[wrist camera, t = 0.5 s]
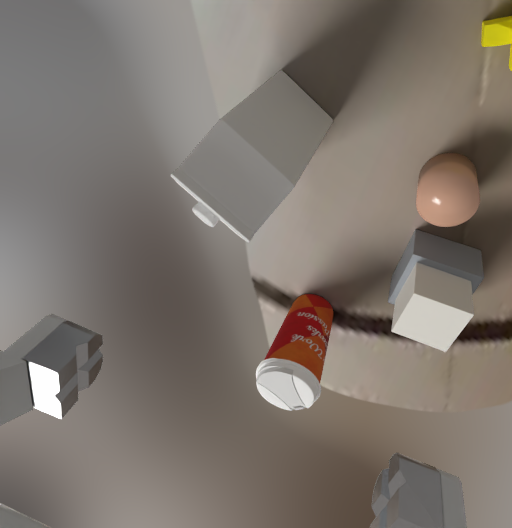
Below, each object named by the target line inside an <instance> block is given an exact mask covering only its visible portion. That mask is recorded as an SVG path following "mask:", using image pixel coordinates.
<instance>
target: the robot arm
mask: <svg viewBox="0 0 512 528" xmlns="http://www.w3.org/2000/svg"><path fill="white" fill-rule="evenodd" d="M102 344H103V337H102V335H101V334H98V333H96V332H93V331H91V330H89V329H87V328H85V327H82V326H80V325H78V324H75V323H73V322H71V321H68V320H66V319H64V318H61V317H59V316H56V315H54V314H51V315H48V316H46V317H45V318H43V319H42V320H41V321H40V322H39V323H37V324H36V325H35V326H34V327H33V328H31V329H30V330H29V331H28V332H26V333H25V334H24V335H23V336H22V337H20V338H19V339H18V340H17V341H16V342H14V343H13V344H12V345H11V346H10V347H8V348H7V349H6V350H5V351H1V350H0V426H1V425H3V424H5V423H7V422H9V421H11V420H12V419H15V418H17V417H19V416H21V415H23V414H25V413H27V412H29V411H31V410H33V408H36V409H38V410H41V411H43V412H45V413H48V414H50V415H53V416H55V417H58V418H60V419H62V418H63V417H64V416H65V415H66V413H67V412H68V411H69V410H70V409H71V408H72V406H73V405H74V404H75V403H76V402H77V401H78V391H81V390H83V389H86V388H88V387H89V386H90V385H91V384H92V383H93V382H94V380H95V379H96V377H97V375H98V373H99V372H100V370H101V366H102V362H103V355H102V353H101V352H100V350H99V348H100V347H101V346H102ZM372 509H373V511H374V513H375V515H376V518H375V520H374V521H373V522H372V524H371V525H370V528H467V525H466V516H465V508H464V500H463V491H462V483H461V481H460V479H459V477H457V476H454V475H452V474H449V473H447V472H444V471H442V470H439V469H436V468H435V467H433V466H430V465H428V464H425V463H422V462H420V461H417V460H415V459H412V458H410V457H407V456H404V455H402V454H399V453H395V454H393V456H392V457H391V459H390V460H389V468H388V469H384V470H382V472H381V473H380V475H379V477H378V479H377V481H376V484H375V487H374V492H373V497H372ZM0 528H51V527H49V526H47V525H45V524H43V523H41V522H39V521H37V520H34V519H32V518H30V517H28V516H26V515H24V514H22V513H19V512H18V511H16V510H14V509H12V508H9V507H7V506H5V505H3V504H1V503H0Z"/></svg>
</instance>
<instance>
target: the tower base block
mask: <svg viewBox="0 0 512 528" xmlns="http://www.w3.org/2000/svg"><path fill="white" fill-rule="evenodd" d="M416 262H418V263H421V264H423V265H426V266H429V267H432V268H435V269H438V270H441V271H443V272H446V273H449V274H452V275H455V276H458V277H461V278H464V279H466V280H469V281H471V285H472V294H473V293H474V292H475V290H476V289H477V287H478V286H479V284H480V283H481V282H482V280H483V279H484V273H483V264H482V255H481V250H478V249H475V248H472V247H469V246H466V245H463V244H460V243H457V242H453V241H450V240H447V239H444V238H441V237H438V236H435V235H432V234H429V233H426V232H423V231H420V230H417V229H415V231H414V233H413V235H412V237H411V239H410V241H409V243H408V245H407V247H406V249H405V251H404V253H403V255H402V257H401V259H400V261H399V263H398V265H397V267H396V269H395V271H394V273H393V275H392V278H391V285H390V291H389V298H388V303H391V304H394V305H395V300H396V298H397V296H398V294H399V292H400V291H401V289H402V287H403V285H404V284H405V282H406V280H407V278H408V276H409V275H410V273H411V271H412V269H413V268H414V266H415V264H416Z"/></svg>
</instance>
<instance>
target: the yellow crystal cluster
mask: <svg viewBox="0 0 512 528" xmlns="http://www.w3.org/2000/svg"><path fill="white" fill-rule="evenodd" d="M481 44H482V47H489V46H499V45H505V44H511V50H510V60H509V68H510V70H511V71H512V16H508V17H502V18H497V19H492V20H486V21H483V23H482V40H481Z"/></svg>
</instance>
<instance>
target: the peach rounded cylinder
mask: <svg viewBox="0 0 512 528" xmlns="http://www.w3.org/2000/svg"><path fill="white" fill-rule="evenodd" d="M479 203H480V194H479V187H478V180H477V173H476V169H475V166H474V164H473V163H472V162H471V161H470V160H469V159H468V158H467V157H465V156H463V155H460V154H457V153H444V154H440V155H437V156H435V157H433V158H431V159H430V160H429V161H427V162H426V163H425V165H424V166H423V167H422V169H421V171H420V174H419V180H418V190H417V199H416V206H417V210H418V212H419V214H420V215H421V217H422V218H423V219H424V220H426V221H427V222H429V223H431V224H433V225H436V226H441V227H451V226H456V225H459V224H462V223H464V222H466V221H467V220H469V219H470V218H471V217H472V216H473V215H474V214H475V212H476V211H477V209H478V207H479Z"/></svg>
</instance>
